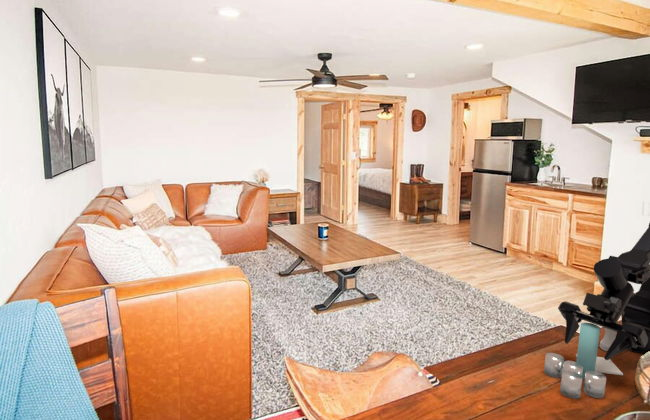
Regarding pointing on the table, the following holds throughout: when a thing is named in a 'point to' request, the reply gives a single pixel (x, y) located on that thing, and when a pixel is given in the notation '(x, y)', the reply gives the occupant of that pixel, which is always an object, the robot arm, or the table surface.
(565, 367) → the spacer
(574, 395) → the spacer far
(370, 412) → the table surface
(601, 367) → the grey mat
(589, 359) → the teal post
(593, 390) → the block
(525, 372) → the table surface
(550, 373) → the spacer
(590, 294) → the robot arm
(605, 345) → the rook chess piece
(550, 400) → the table surface
